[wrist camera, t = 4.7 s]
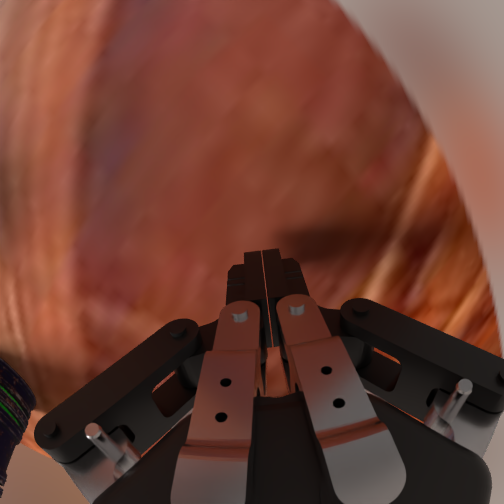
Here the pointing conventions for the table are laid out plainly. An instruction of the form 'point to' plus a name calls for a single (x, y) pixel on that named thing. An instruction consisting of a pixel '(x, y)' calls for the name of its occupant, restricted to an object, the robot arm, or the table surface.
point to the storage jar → (12, 414)
